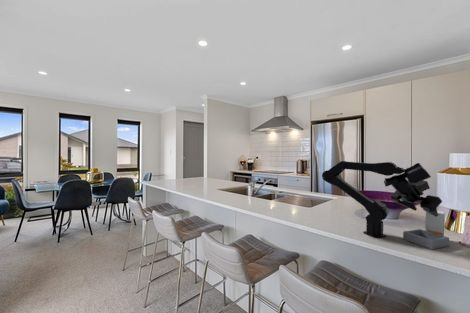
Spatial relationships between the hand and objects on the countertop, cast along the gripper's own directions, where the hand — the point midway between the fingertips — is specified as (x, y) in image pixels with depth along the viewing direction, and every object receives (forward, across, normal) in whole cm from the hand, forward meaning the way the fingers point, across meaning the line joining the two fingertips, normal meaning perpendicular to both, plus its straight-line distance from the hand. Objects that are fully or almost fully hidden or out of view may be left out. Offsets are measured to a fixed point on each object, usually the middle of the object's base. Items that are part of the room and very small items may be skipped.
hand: (426, 212), depth 94 cm
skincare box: (+11, 0, +5) cm, 12 cm away
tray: (+5, -4, +11) cm, 13 cm away
